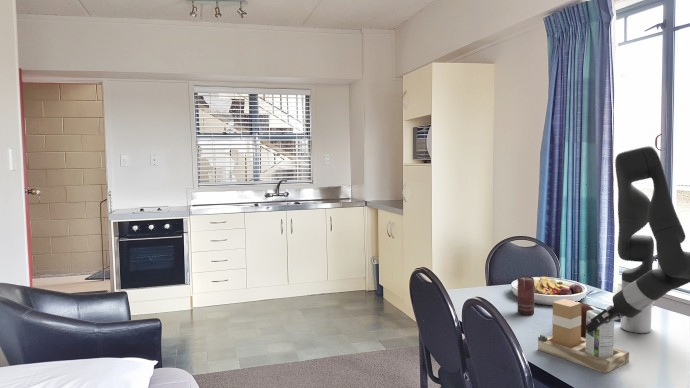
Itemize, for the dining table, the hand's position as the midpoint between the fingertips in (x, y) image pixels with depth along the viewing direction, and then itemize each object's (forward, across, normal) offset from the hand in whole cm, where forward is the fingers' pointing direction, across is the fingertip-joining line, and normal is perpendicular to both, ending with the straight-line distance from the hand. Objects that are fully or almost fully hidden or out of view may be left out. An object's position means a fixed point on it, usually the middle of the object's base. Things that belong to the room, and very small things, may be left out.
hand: (595, 326), depth 157 cm
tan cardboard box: (+14, 0, 0) cm, 14 cm away
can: (+35, -20, -20) cm, 46 cm away
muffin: (+18, -18, -4) cm, 26 cm away
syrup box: (+6, 0, +8) cm, 10 cm away
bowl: (+41, -46, -26) cm, 67 cm away
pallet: (+10, 0, +4) cm, 11 cm away
